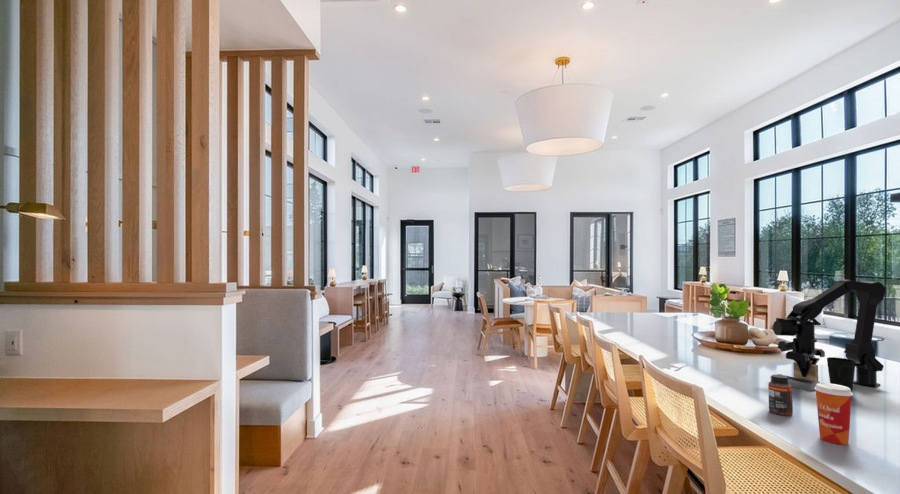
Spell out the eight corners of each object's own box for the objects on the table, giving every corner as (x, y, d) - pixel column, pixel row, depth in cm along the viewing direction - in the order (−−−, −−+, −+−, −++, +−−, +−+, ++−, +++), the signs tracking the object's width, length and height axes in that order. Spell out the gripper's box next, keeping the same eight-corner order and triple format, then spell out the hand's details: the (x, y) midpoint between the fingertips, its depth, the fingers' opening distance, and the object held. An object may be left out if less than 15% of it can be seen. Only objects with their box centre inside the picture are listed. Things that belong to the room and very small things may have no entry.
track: (779, 380, 173) (779, 373, 173) (819, 388, 162) (819, 381, 162) (770, 382, 170) (770, 376, 170) (811, 391, 158) (811, 384, 159)
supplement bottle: (788, 411, 137) (787, 374, 137) (796, 417, 131) (795, 379, 132) (765, 408, 139) (765, 372, 139) (772, 414, 133) (772, 377, 133)
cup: (844, 390, 159) (844, 357, 160) (862, 397, 152) (861, 362, 152) (821, 389, 160) (821, 356, 161) (838, 396, 153) (837, 361, 153)
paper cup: (807, 434, 118) (806, 382, 118) (833, 434, 118) (832, 382, 119) (835, 447, 110) (834, 391, 110) (863, 446, 111) (862, 390, 111)
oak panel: (796, 379, 174) (796, 361, 175) (818, 383, 168) (817, 365, 169) (793, 379, 173) (793, 362, 173) (815, 384, 167) (815, 365, 167)
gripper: (791, 331, 183) (792, 369, 182) (770, 334, 173) (770, 374, 173) (825, 335, 173) (825, 375, 173) (803, 339, 164) (804, 381, 163)
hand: (805, 376), depth 171 cm, fingers closed on oak panel, 2 cm apart
